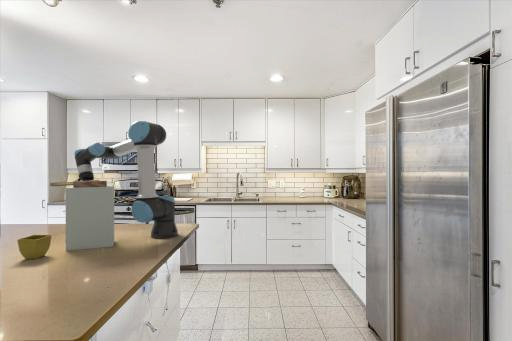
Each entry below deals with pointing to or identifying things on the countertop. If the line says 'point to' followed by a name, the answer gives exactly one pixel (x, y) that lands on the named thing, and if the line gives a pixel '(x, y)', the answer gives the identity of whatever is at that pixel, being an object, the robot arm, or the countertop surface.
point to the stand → (89, 217)
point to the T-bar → (89, 183)
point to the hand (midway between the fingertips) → (92, 206)
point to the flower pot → (34, 246)
